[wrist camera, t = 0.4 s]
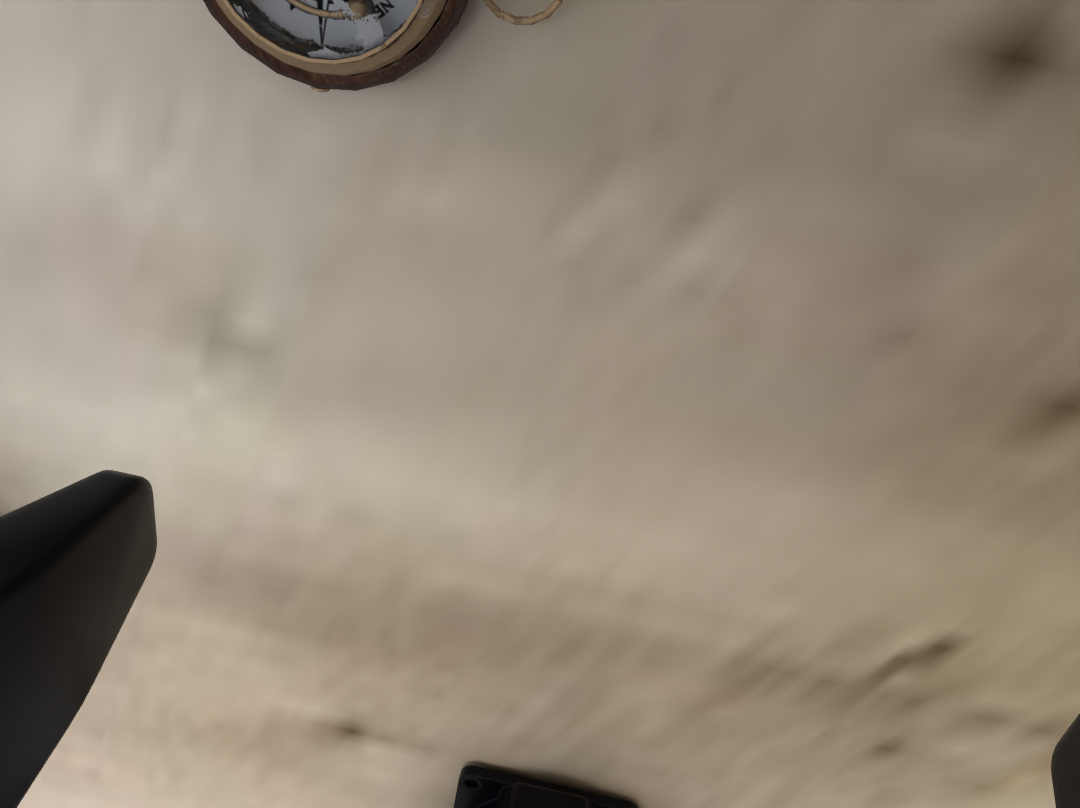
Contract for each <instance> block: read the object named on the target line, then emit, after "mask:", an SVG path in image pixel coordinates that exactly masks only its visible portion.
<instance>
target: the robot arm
mask: <svg viewBox="0 0 1080 808" xmlns="http://www.w3.org/2000/svg"><path fill="white" fill-rule="evenodd" d="M156 547H157V536H156V524H155V512H154V501H153V491H152V486H151V485H150V483H149V481H148V480H147V479H145V478H143V477H140V476H136V475H131V474H127V473H122V472H118V471H113V470H105V471H101V472H98V473H96V474H93V475H91V476H89V477H87V478H85V479H82V480H80V481H78V482H76V483H74V484H71V485H69V486H67V487H65V488H63V489H60V490H58V491H56V492H54V493H52V494H50V495H47V496H45V497H43V498H41V499H39V500H36V501H34V502H32V503H30V504H28V505H25V506H23V507H21V508H19V509H17V510H14V511H12V512H10V513H8V514H6V515H3V516H1V517H0V808H17V806H18V805H19V803H20V802H21V800H22V799H23V797H24V796H25V794H26V792H27V791H28V789H29V788H30V786H31V785H32V783H33V782H34V780H35V778H36V777H37V775H38V774H39V772H40V771H41V769H42V768H43V766H44V764H45V763H46V761H47V760H48V758H49V757H50V755H51V754H52V752H53V750H54V749H55V747H56V746H57V744H58V743H59V741H60V740H61V738H62V736H63V735H64V733H65V732H66V730H67V729H68V727H69V725H70V724H71V722H72V720H73V719H74V717H75V715H76V714H77V712H78V711H79V709H80V707H81V706H82V704H83V702H84V700H85V698H86V696H87V694H88V693H89V691H90V689H91V687H92V685H93V683H94V681H95V679H96V677H97V675H98V673H99V671H100V669H101V667H102V665H103V663H104V661H105V659H106V657H107V655H108V653H109V651H110V649H111V647H112V645H113V643H114V641H115V639H116V637H117V635H118V633H119V631H120V629H121V627H122V625H123V623H124V621H125V619H126V617H127V615H128V613H129V611H130V609H131V607H132V605H133V603H134V601H135V599H136V597H137V595H138V593H139V591H140V589H141V586H142V584H143V582H144V580H145V578H146V576H147V574H148V572H149V570H150V568H151V566H152V564H153V561H154V558H155V553H156ZM1051 773H1052V781H1053V789H1054V796H1055V804H1056V808H1080V714H1079V715H1078V716H1077V718H1076V719H1075V720H1074V722H1073V723H1072V724H1071V726H1070V727H1069V728H1068V730H1067V731H1066V732H1065V734H1064V735H1063V737H1062V738H1061V739H1060V741H1059V742H1058V744H1057V745H1056V747H1055V750H1054V753H1053V756H1052V763H1051ZM454 808H638V806H637V805H635V804H634V803H632V802H629V801H625V800H621V799H616V798H612V797H608V796H603V795H599V794H595V793H590V792H586V791H582V790H578V789H573V788H569V787H565V786H560V785H556V784H552V783H547V782H543V781H539V780H534V779H530V778H526V777H521V776H517V775H513V774H508V773H504V772H500V771H495V770H491V769H487V768H483V767H478V766H466V767H464V768H463V769H462V771H461V774H460V778H459V782H458V787H457V792H456V798H455V803H454Z"/></svg>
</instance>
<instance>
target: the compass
mask: <svg viewBox="0 0 1080 808" xmlns="http://www.w3.org/2000/svg"><path fill="white" fill-rule="evenodd" d="M203 1H204V2H205V4H206V6H207V8H208V10H209V12H210V13H211V15H212V16H213V17H214V18H215V19H216V20H217V21H218V22H219V24H220V25H221V26H222V27H223V28H224V29H225V30H226V31H227V33H228V34H229V35H230V36H231V37H232V38H233V39H234V40H235V42H236V43H237V44H238V45H239V46H240V47H241V48H242V49H243V50H245V51H246V52H248V53H249V54H250V55H252V56H253V57H255V58H256V59H258V60H259V61H260V62H262V63H263V64H265V65H266V66H268V67H269V68H270V69H272V70H273V71H275V72H276V73H278V74H280V75H283V76H286V77H289V78H291V79H294V80H297V81H299V82H302V83H305V84H308V85H310V86H311V88H312V89H313V90H316V91H319V92H326V91H329V90H330V89H341V90H355V91H356V90H360V89H364V88H369V87H373V86H377V85H381V84H385V83H389V82H393V81H395V80H397V79H398V78H400V77H401V76H403V75H404V74H406V73H408V72H409V71H411V70H412V69H414V68H416V67H417V66H419V65H420V64H422V63H423V62H425V61H427V60H428V59H429V58H430V57H431V56H432V55H433V54H434V53H435V51H436V50H437V49H438V48H439V46H440V45H441V44H442V43H443V42H444V40H445V39H446V38H447V37H448V36H449V34H450V33H451V32H452V31H453V30H454V28H455V27H456V26H457V25H458V23H459V22H460V19H461V17H462V14H463V12H464V9H465V7H466V5H467V2H468V0H203ZM483 1H484V3H485V4H486V5H487V6H488V8H489V9H490V10H491V11H492V12H493V13H494V14H495V15H496V16H497V17H499V18H501V19H503V20H506V21H508V22H510V23H512V24H516V25H533V24H535V23H537V22H539V21H542V20H544V19H546V18H548V17H550V16H551V15H552V13H553V12H554V11H555V10H556V9H557V8H558V7H559V6H560V5H561V4H562V2H563V0H554V1H553V2H552V4H551V5H550V6H549V7H548V8H547V9H546V10H545V11H543V12H541V13H538V14H536V15H534V16H532V17H516V16H513V15H511V14H509V13H507V12H504V11H502V10H501V9H500V8H499V7H498V6H497V5H496V4H495V3H494V2H493V1H492V0H483Z"/></svg>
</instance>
